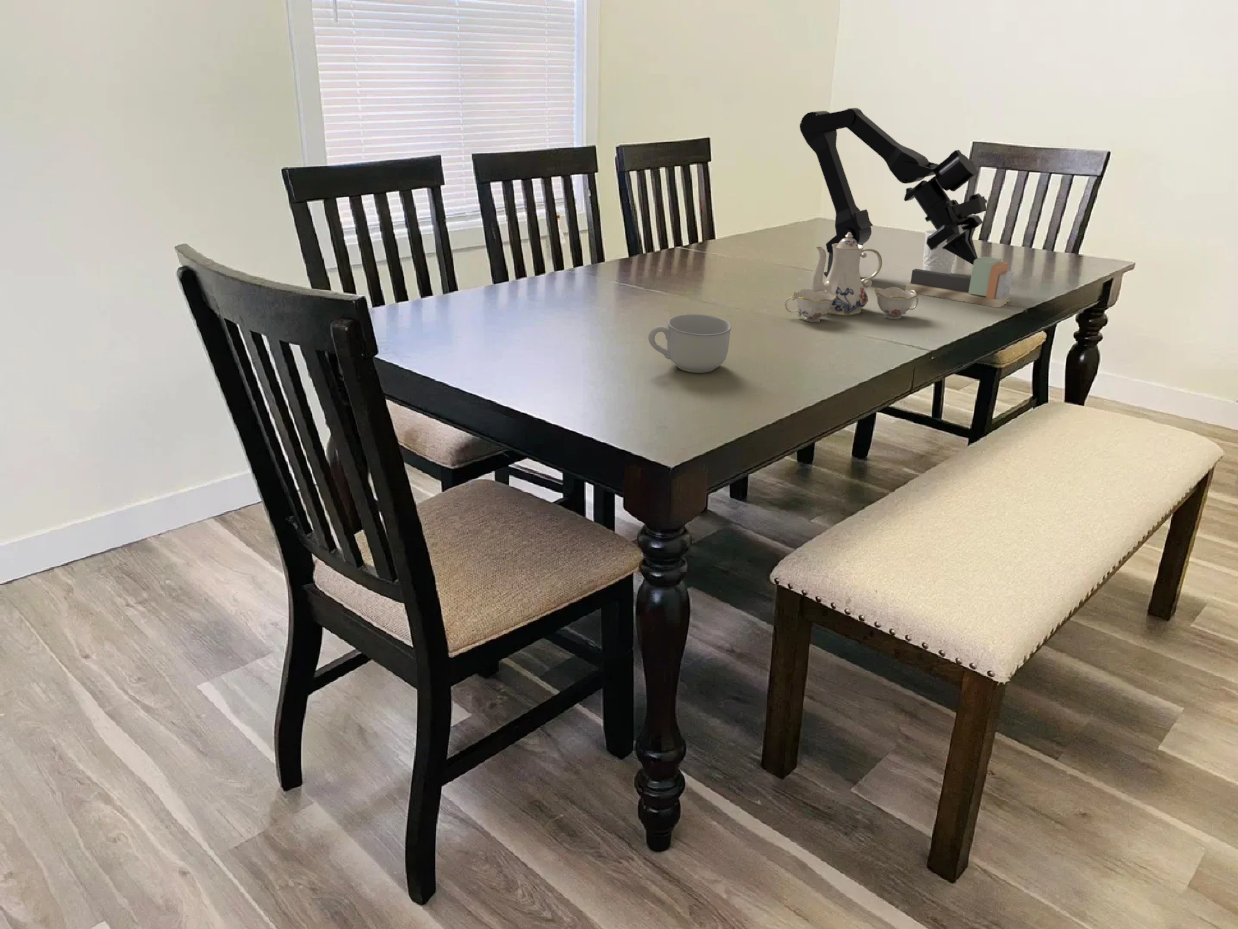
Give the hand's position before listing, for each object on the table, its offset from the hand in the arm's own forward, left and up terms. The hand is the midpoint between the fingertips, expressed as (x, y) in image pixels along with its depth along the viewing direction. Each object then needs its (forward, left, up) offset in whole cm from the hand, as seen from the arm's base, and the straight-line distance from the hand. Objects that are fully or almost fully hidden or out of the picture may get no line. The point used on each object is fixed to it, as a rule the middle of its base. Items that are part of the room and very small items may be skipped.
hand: (976, 263), depth 200 cm
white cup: (+5, +24, -8) cm, 26 cm away
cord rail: (-2, +3, -6) cm, 7 cm away
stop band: (+3, -4, -6) cm, 8 cm away
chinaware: (-33, -8, -8) cm, 35 cm away
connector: (+4, -5, -6) cm, 9 cm away
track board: (-2, +2, -8) cm, 8 cm away
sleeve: (+1, -2, -6) cm, 6 cm away
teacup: (-75, -36, -8) cm, 84 cm away
